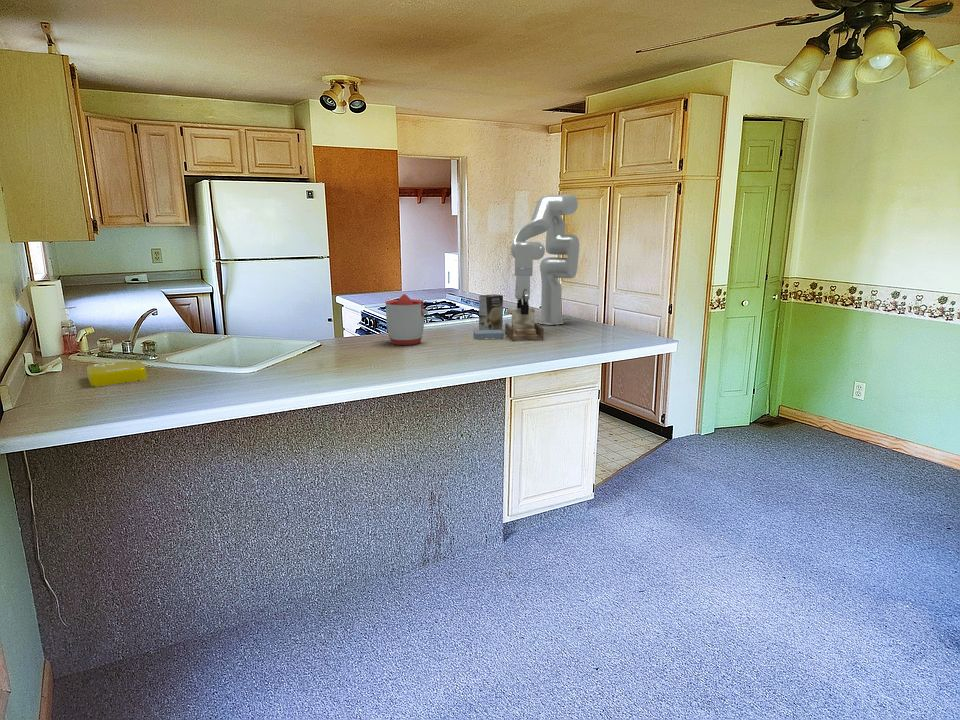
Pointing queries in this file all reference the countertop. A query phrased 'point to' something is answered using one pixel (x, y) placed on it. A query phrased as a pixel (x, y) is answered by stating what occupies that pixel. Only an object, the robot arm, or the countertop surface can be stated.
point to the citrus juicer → (405, 320)
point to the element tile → (116, 372)
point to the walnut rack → (527, 337)
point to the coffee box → (490, 312)
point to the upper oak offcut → (525, 332)
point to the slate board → (488, 334)
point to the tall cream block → (522, 319)
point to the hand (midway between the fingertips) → (522, 312)
